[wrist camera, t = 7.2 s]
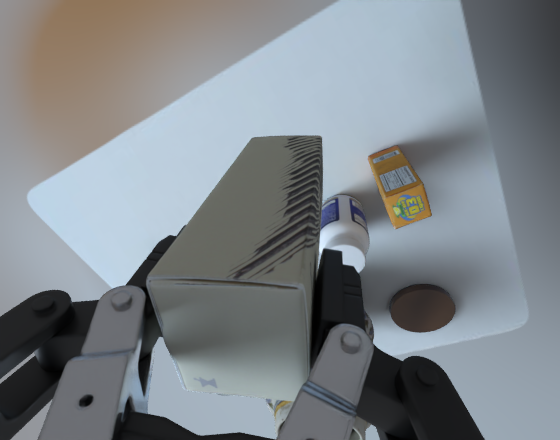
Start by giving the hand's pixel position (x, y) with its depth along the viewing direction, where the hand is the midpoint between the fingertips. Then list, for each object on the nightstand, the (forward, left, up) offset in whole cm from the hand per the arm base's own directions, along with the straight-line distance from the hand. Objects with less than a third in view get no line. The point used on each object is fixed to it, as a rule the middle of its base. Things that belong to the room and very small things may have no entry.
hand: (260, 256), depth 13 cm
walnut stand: (-12, +27, -23) cm, 38 cm away
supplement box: (-8, +6, -23) cm, 25 cm away
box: (0, 0, -9) cm, 9 cm away
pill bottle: (-3, +12, -23) cm, 26 cm away
